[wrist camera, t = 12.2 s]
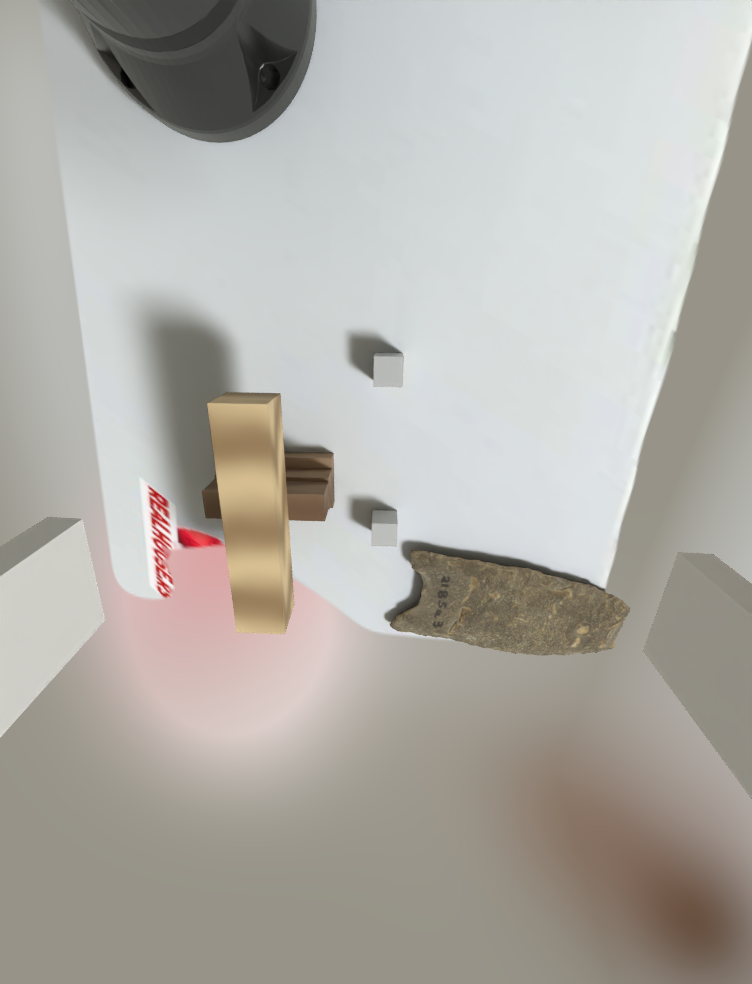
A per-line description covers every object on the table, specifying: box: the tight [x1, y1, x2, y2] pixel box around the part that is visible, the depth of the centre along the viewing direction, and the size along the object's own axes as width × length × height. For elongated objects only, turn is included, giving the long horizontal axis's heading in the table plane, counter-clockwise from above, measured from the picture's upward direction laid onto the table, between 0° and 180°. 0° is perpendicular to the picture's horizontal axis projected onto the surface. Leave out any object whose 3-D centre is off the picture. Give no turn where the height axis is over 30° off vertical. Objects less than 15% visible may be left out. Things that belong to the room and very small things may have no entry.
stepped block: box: [202, 452, 334, 521], centre depth 40 cm, size 5×10×7 cm, turn 89°
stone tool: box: [390, 550, 630, 655], centre depth 48 cm, size 11×3×25 cm
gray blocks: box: [371, 353, 404, 547], centre depth 41 cm, size 17×2×3 cm, turn 179°
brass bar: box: [207, 392, 294, 634], centre depth 35 cm, size 19×4×4 cm, turn 179°
